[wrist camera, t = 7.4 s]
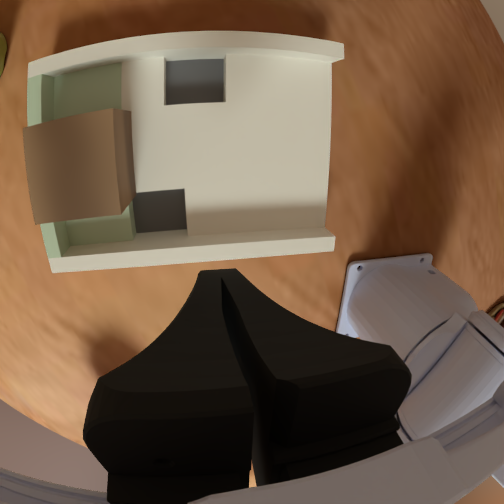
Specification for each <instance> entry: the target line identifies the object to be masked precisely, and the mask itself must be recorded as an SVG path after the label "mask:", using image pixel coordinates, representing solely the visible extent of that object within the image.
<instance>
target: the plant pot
mask: <svg viewBox="0 0 504 504" xmlns="http://www.w3.org/2000/svg"><path fill="white" fill-rule="evenodd" d="M6 51H7V43H6V39H5V37H4V35H3V34H2V33H1V32H0V76H1V74H2V71H3V69H4V59H5V54H6Z"/></svg>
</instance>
